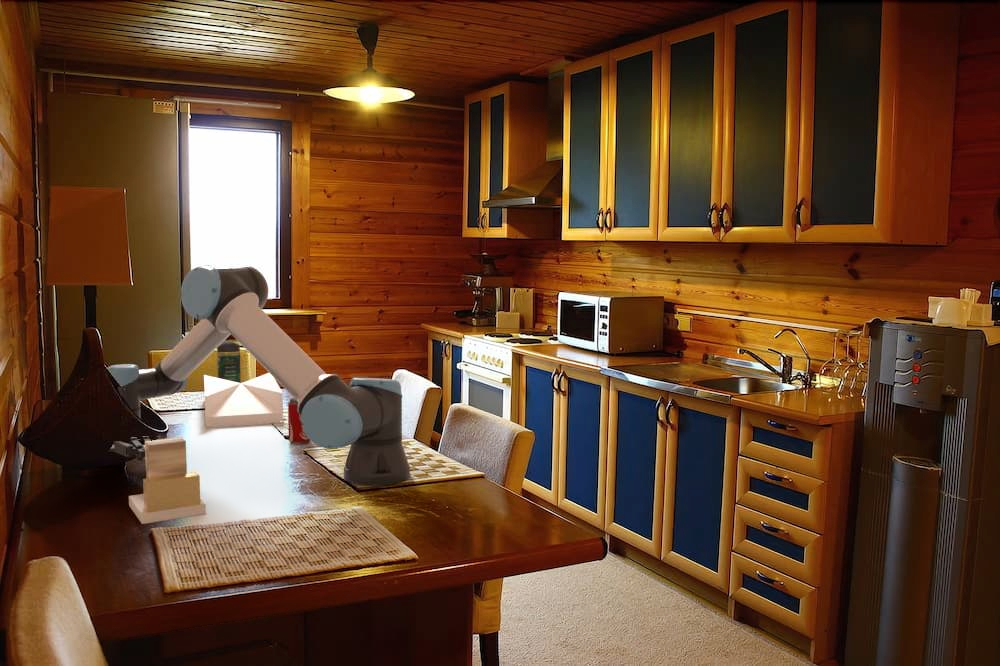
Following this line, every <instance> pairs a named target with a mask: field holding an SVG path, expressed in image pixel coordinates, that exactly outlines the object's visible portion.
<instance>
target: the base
mask: <svg viewBox="0 0 1000 666" xmlns="http://www.w3.org/2000/svg"><path fill="white" fill-rule="evenodd" d="M200 503H201V505H196V506H189V507H183V508H176V509H170V510H163V511H157V512H151V513H147V512H146V511H145V509H144V493H141V494H139V493H138V494H135V495H133V494H132V495H128V505H129V508H130V509H131V511H132V512H133V513H134V515H135V516H136V518H137V519H138V520H139V522H140V523H141V524H142V525H143V524H144V525H145V524H151V523H157V522H163V521H169V520H176V519H182V518H187V517H193V516H194V517H195V516H200V515H206V514H207V508H206V507H207V504H206V503H205V502H204V501H203V500H202V499H201V498H200Z"/></svg>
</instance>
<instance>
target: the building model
mask: <svg viewBox="0 0 1000 666" xmlns="http://www.w3.org/2000/svg"><path fill="white" fill-rule="evenodd" d="M203 383H204V386H203V387H204V388H203V389H204V410H205V411H204V412H205V413H204V415H205V428H214V427H215V428H217V426H219V427H229V426H228V425H235V426H246V425H247V426H248V425H249V426H250V425H261V424H262V425H264V424H274V423H273V422H280V421H283V422H284V401H283V399H284V397H283V396H284V395H283V393H284V392H283V391H282V390H281V387H280V386H279V384H278V381H277V380H276V379H275V378H274V377H273V376H272V375H271V374H270V373H269V372H267V373H264V374H262V375H260V376H257V377H254V378H252V379H248V380H247V381H244V382H241V383H238V382H233V381H229V380H225V379H220V378H218V377H215V376H211V375H207V374H203Z"/></svg>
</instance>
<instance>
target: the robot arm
mask: <svg viewBox="0 0 1000 666" xmlns="http://www.w3.org/2000/svg"><path fill="white" fill-rule="evenodd" d="M180 292H181V293H180V294H181V296H180V300H181V304H182V307H183V309H184V311H185V312H186V313H187V314H188V316H190V317H191V318H193V319H195V320H200V321H199V322H198V323H197V324H195V326H194V327H193V328H191V330H190V331H189V332H188V333H187V334H186V335H185V336H184V337H183V338H182V339H181V340H180V341H179V342H178V343H177V344H176V345H175V346H174V347H173V348H172V349H171V350H170V351H169V352H168V354H167V355H166V356H164V357H163V358H162V360H161V361H160V362H159V363H157V364H156V365H155V366H154V367H151V368H145V369H139V366H138V365H136V364H132V363H128V364H127V363H121V364H114V365H110V366H108V367H106V369H108V370H109V372H110V373H111V375H112V376H113V377H114V378H115V380H116V381H117V382H118V383H119V384H120V385H121V386H122V387H118V391H119V393H120V395H121V396H122V397H123V398H124V399H125V401H126V402H127V404H128V405H129V407H130V408H131V410H132V411H133V412H134V413H135V414H136V415H137V416H138V417H139V418H140V419H141V401H144V400H149V399H153V398H159V397H164V396H172V395H174V394H177V393H180V392H182V391H183V390H184V389H185V388H186V387H187V383H188V377H189V376H190V375H191V374H192V373H193V372H194V371H195V370H196V369H197V368H198V367H199V366H200V365H201V364H202V363H203V362H205V360H206V359H207V358H208V357H209V356H210V355H211V354H212V353H213V352H214V351H215V350H217V347H218V346H219V345H220V344H221V343H222V342H223V341H226V340H227V338H228V337H229V336H230V335H231V336H232V337H233V338H235V340H236V341H237V342H239V343H238V344H239V345H241V346H242V347H243V348H244V349H245V350H246V351H247V352H249V354H250V355H251V356H252V357H253V358H254V359H255V360H256V361H257V362H258V363H259V364H260V365H261V366H262V367H263V368H264V369H265V370H266V372H267V373H270V374H271V375H272V376H273V377H274V379H275V380H276V382H277V383H279V385H280V386H281V387H283V389H285V390H286V391H287V393H289V394H290V396H291V397H292V398H294V399H295V400H296V401H297V402H298V409H297V411H298V413H299V414H300V415H301V422H302V423H303V430H304V432H305V434H306V435H307V437H308V438H309V439H310V442H312V443H313V444H314V445H316V446H318V447H320V448H323V449H329V450H332V449H333V450H334V449H337V448H338V449H339V448H345V447H348V446H350V447H349V451H348V454H347V458H346V461H345V464H344V467H343V479H344V481H346V482H347V481H348V482H347V483H350V482H353V483H352V484H354V483H357V484H356V485H359V484H363V486H385V485H386V486H387V485H392V484H397V483H401V482H404V481H406V480H408V479H409V478H410V477H411V467H410V464H409V461H408V456H407V454H406V451H405V447H404V445H403V408H402V407H403V405H402V404H403V401H402V400H403V394H402V385H401V383H400V381H399V380H397V379H392V378H377V377H352V378H351V379H350V382H349V385H348V384H347V383H346V382H345V381H344V380H343V379H342V378H341V377H340V376H339V375H338V374H336V373H335V374H334V373H332V374H330V373H329V374H327V373H326V372H325V371H324V370H323V369H322V368H321V367H320V366H319V365H318V364H317V363H316V362H315V361H314V360H313V359H312V358H311V357H310V356H309V355H308V354H307V353H306V351H304V350H303V349H302V348H301V347H300V346H299V345H298V344H297V343H296V342H295V341H294V340H293V339H292V338H291V337H290V336H289V335H288V334H287V333H286V332H285V331H284V330H283V329H282V328H281V327H280V326H279V325H278V324H277V323H276V322H275V321H274V320H273V319H272V318H271V317H270V316H269V315H268V314H267V313H266V312H265V311H264V310H263V309H264V307H265V305H266V303H267V301H268V297H269V284H268V283H267V280H266V278H265V277H264V275H263V273H261V272H260V271H259V270H258V269H257V268H254V267H253V266H250V265H246V264H230V265H229V264H226V265H225V264H224V265H223V264H222V265H221V264H220V265H219V264H218V265H211V264H206V265H203V266H198V267H197V266H196V267H194V268H192V269H191V270H189V272H188V273H186V275H185V277H184V278H183V281H182V283H181V289H180ZM124 389H125V390H124ZM158 435H159V436H158ZM158 435H157V437H158V439H156V440H161V439H168V436H167V433H162V435H161V434H158ZM130 440H131V441H129V442H128V443H125V442H122V441H114V443H113V445H112V447H111V448H110V450H109V451H108V452H113V453H116V454H119V455H121V456H124V457H126V458H129V459H130V458H131V459H132V458H133V457H134V456H136V460H137V461H143V460H145V441H151V439H149V436H142V439H137V437H131V438H130Z"/></svg>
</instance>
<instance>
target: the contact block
mask: <svg viewBox="0 0 1000 666" xmlns="http://www.w3.org/2000/svg"><path fill="white" fill-rule="evenodd" d="M200 479H201V478H200V474H199V473H198V472H196V471H192V472H187V473H184V474H176V475H169V476H162V477H154V478H147V479H146V478H143V479H142V488H143V494H144V509H145V511H146V512H147V513H151V512H157V511H163V510H170V509H176V508H183V507H189V506H196V505H201V503H200V499H201V482H200V481H201V480H200Z"/></svg>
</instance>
